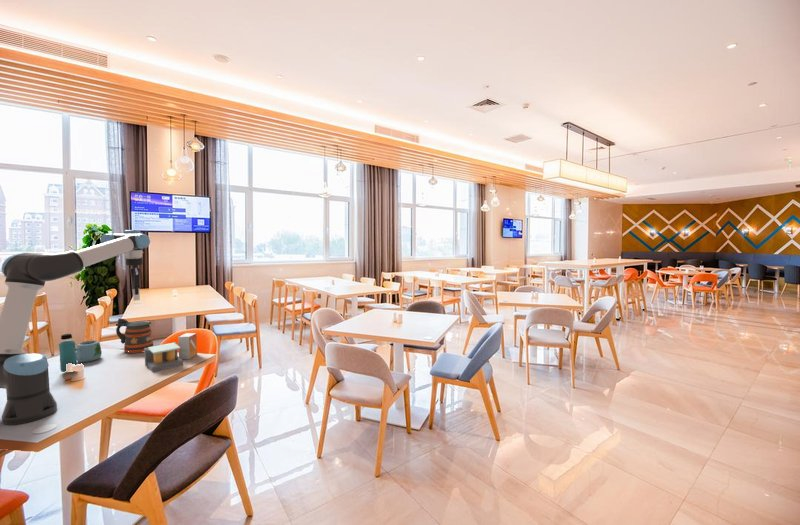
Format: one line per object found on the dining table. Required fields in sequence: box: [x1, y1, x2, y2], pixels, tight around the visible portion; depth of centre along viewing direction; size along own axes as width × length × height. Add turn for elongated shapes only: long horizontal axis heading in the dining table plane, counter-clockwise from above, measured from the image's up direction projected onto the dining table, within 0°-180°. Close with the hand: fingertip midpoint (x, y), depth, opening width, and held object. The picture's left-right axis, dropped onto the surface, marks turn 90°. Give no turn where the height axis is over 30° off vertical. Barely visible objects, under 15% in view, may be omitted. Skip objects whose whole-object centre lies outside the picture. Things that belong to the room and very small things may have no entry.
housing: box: [143, 342, 184, 372], centre depth 195 cm, size 15×14×10 cm
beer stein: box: [115, 318, 154, 354], centre depth 220 cm, size 19×15×20 cm
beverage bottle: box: [58, 333, 78, 373], centre depth 183 cm, size 6×7×20 cm
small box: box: [177, 332, 198, 360], centre depth 208 cm, size 8×6×13 cm
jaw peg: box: [166, 350, 175, 362], centre depth 197 cm, size 4×4×9 cm
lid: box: [148, 342, 180, 354], centre depth 194 cm, size 12×12×1 cm
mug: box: [76, 340, 103, 363], centre depth 201 cm, size 15×11×10 cm
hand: (136, 300), depth 200 cm, fingers closed
